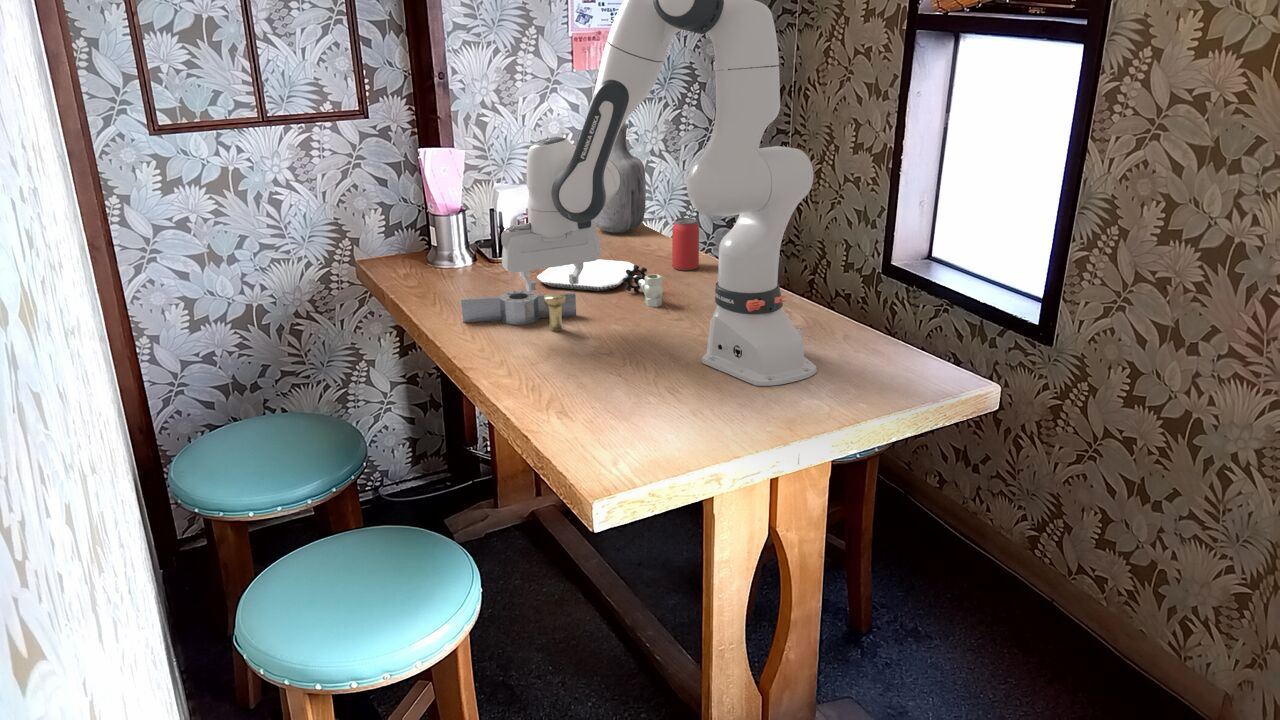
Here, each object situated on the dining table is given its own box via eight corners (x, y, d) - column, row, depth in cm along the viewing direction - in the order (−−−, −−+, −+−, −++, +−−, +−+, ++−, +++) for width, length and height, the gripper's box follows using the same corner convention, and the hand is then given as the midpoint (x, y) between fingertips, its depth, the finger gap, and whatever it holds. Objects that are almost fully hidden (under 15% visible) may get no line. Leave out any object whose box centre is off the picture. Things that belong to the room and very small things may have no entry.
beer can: (668, 265, 239) (668, 218, 235) (693, 263, 241) (693, 216, 237) (677, 272, 234) (677, 224, 229) (702, 270, 235) (703, 222, 231)
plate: (531, 288, 224) (531, 279, 223) (563, 264, 242) (563, 256, 241) (614, 296, 218) (614, 287, 217) (641, 271, 236) (641, 262, 235)
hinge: (574, 309, 209) (573, 287, 207) (577, 321, 201) (576, 299, 199) (463, 315, 205) (461, 293, 204) (462, 328, 198) (460, 305, 196)
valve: (670, 305, 211) (648, 290, 221) (671, 277, 208) (648, 263, 219) (643, 309, 208) (622, 294, 219) (643, 280, 206) (622, 266, 216)
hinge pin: (570, 330, 196) (568, 297, 193) (550, 334, 194) (548, 301, 191) (561, 324, 200) (560, 291, 197) (542, 328, 198) (540, 295, 195)
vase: (656, 233, 269) (656, 125, 258) (606, 241, 262) (604, 130, 250) (628, 221, 282) (627, 118, 271) (580, 228, 275) (576, 122, 263)
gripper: (506, 230, 182) (509, 299, 187) (603, 218, 190) (603, 284, 196) (495, 223, 187) (498, 289, 192) (589, 211, 195) (590, 275, 201)
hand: (552, 286), depth 194 cm, fingers open, 8 cm apart
